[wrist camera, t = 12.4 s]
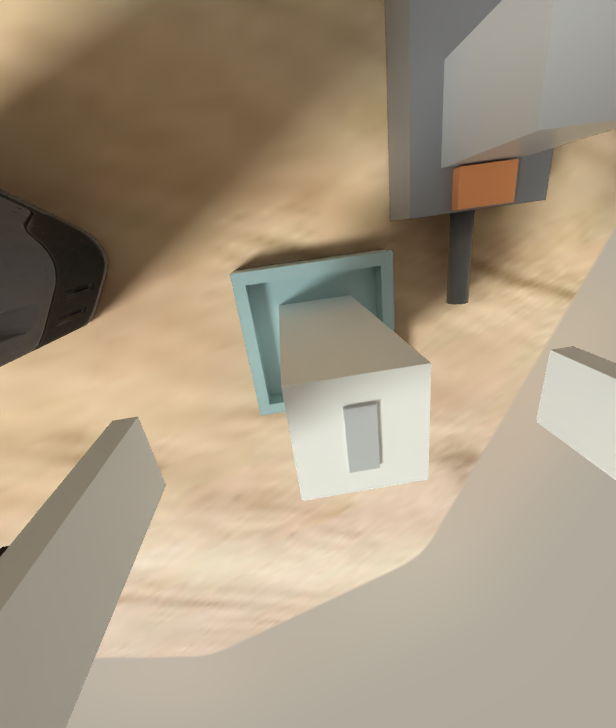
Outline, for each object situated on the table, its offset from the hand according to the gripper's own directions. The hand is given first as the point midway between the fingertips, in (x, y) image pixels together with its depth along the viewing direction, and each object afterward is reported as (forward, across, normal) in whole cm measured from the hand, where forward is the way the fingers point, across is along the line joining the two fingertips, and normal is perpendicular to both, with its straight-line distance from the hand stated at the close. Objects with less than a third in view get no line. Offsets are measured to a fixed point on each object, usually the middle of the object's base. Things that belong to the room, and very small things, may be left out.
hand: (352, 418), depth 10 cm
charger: (+10, 0, -1) cm, 11 cm away
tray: (+11, 0, -1) cm, 11 cm away
